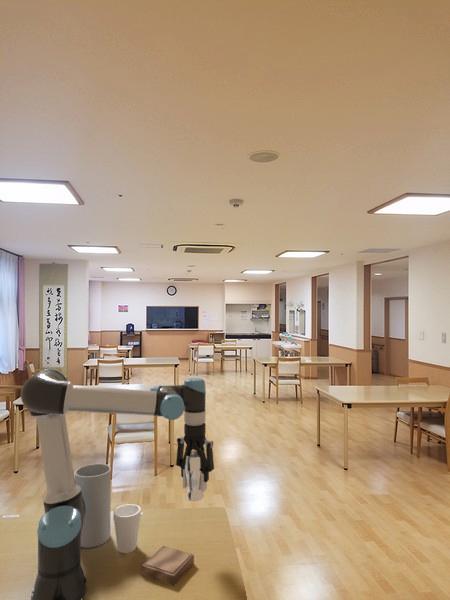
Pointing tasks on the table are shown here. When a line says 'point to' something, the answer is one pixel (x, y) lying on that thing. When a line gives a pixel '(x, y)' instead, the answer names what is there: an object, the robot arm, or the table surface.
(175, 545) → the table surface
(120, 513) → the foam cup
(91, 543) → the cylinder vase
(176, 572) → the coaster
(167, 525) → the table surface
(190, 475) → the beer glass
